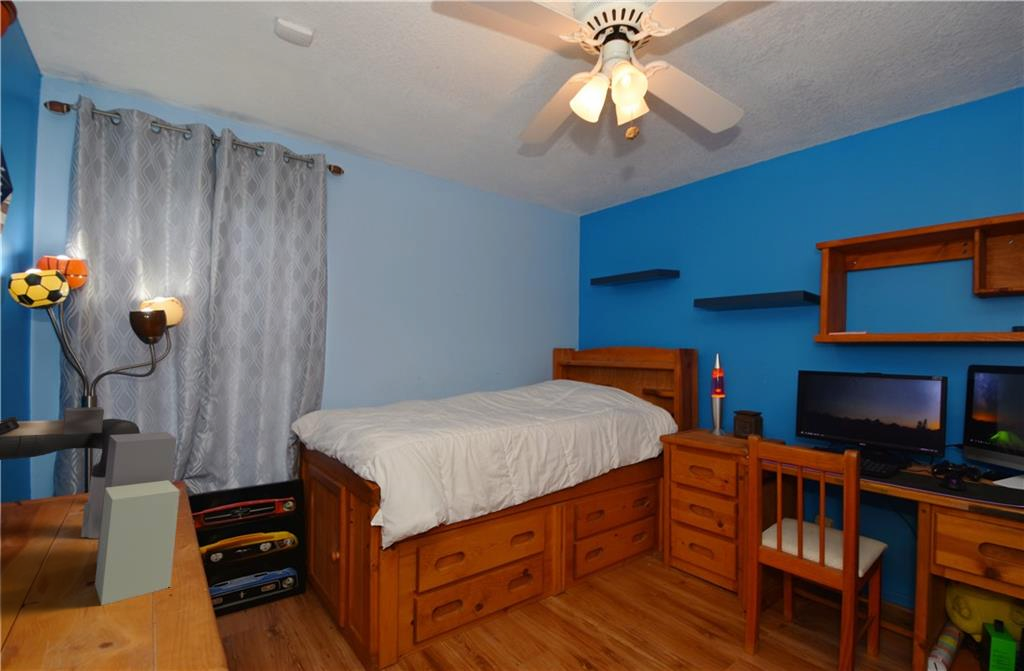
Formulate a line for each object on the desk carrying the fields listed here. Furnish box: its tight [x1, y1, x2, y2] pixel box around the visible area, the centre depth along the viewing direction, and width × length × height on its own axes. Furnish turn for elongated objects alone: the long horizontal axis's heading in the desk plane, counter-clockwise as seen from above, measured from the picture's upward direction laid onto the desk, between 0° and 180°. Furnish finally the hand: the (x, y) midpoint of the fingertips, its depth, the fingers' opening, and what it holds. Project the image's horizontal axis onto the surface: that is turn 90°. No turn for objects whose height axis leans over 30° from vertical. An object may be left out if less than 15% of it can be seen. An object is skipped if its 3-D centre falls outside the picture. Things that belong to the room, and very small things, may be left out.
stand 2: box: [94, 480, 181, 606], centre depth 107 cm, size 12×12×22 cm
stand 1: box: [95, 431, 177, 564], centre depth 118 cm, size 12×12×32 cm
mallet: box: [0, 406, 105, 436], centre depth 96 cm, size 20×6×5 cm, turn 136°
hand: (16, 421), depth 94 cm, fingers closed on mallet, 3 cm apart
